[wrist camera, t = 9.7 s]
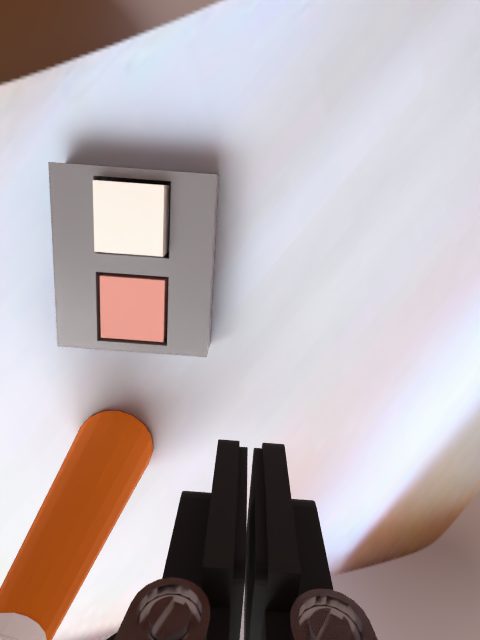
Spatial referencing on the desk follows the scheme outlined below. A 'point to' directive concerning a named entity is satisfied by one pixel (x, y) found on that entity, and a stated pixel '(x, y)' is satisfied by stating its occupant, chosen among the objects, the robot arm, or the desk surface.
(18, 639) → the spray bottle
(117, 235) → the white key
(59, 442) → the desk surface
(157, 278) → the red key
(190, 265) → the key panel
